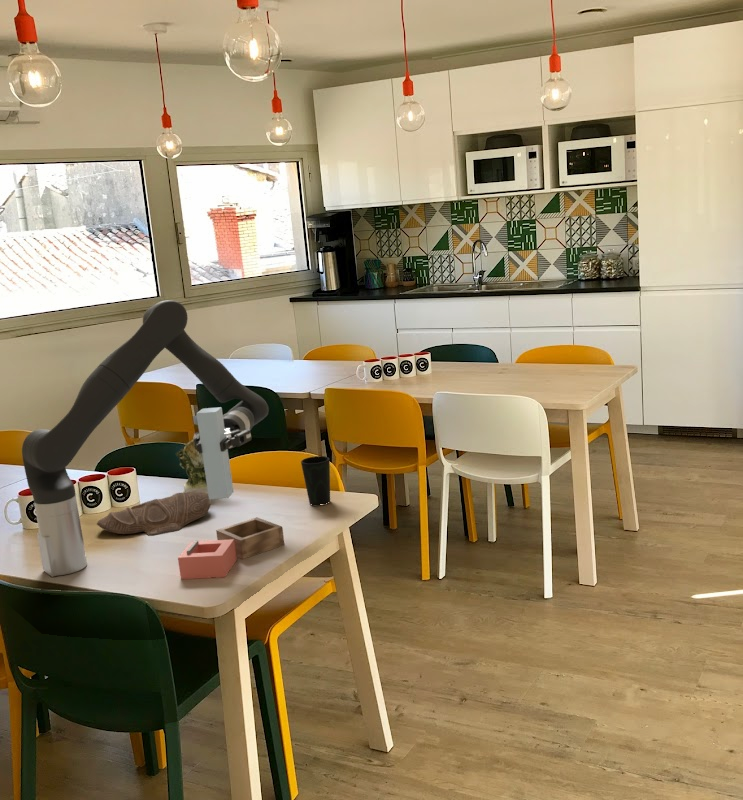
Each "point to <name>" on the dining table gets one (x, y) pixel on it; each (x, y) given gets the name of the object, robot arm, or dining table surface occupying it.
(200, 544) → the pink square holder
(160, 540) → the dining table surface
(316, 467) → the cup
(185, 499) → the decorative mask
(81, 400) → the robot arm
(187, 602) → the dining table surface
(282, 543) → the tray
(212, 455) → the pale blue tall pillar
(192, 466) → the figurine
